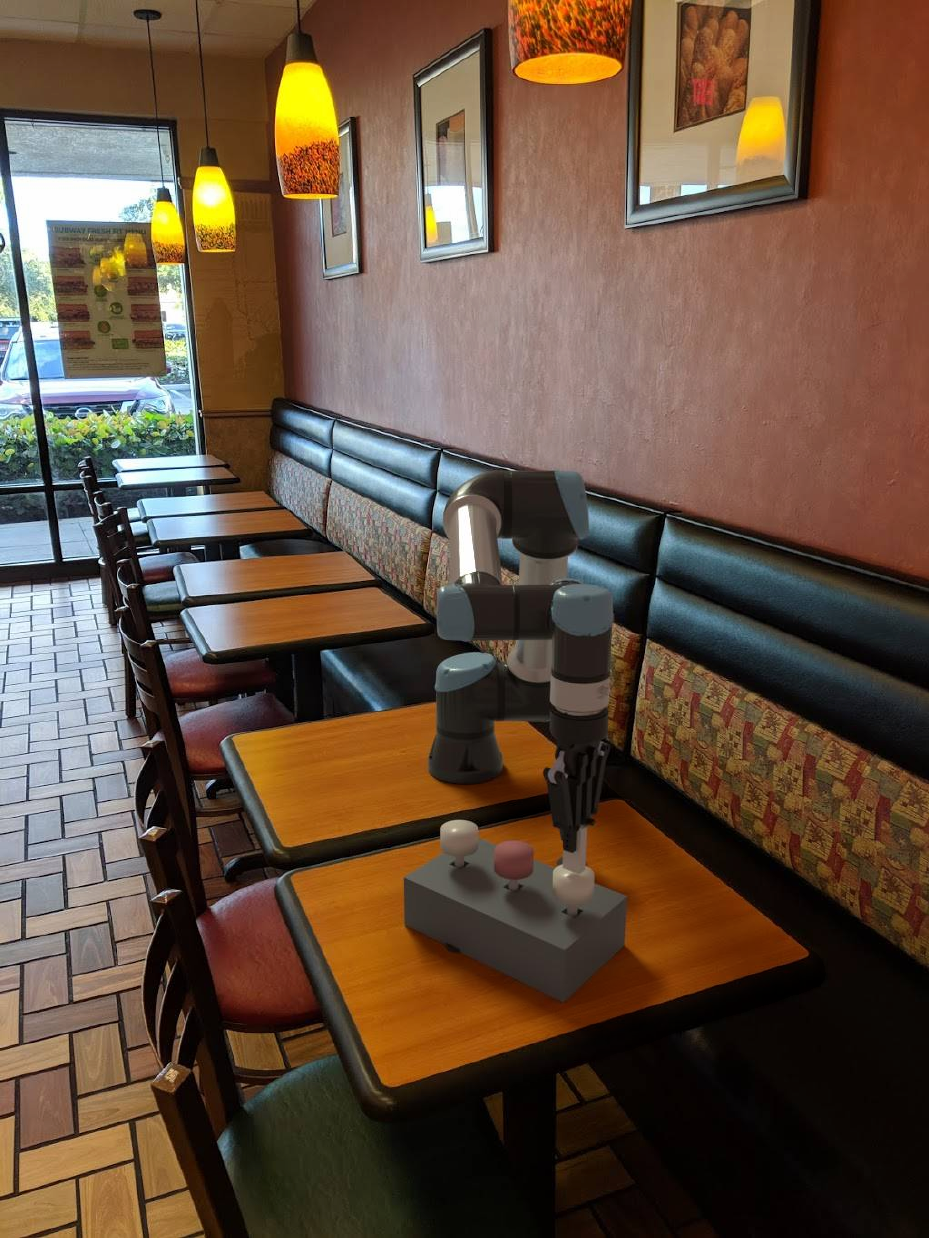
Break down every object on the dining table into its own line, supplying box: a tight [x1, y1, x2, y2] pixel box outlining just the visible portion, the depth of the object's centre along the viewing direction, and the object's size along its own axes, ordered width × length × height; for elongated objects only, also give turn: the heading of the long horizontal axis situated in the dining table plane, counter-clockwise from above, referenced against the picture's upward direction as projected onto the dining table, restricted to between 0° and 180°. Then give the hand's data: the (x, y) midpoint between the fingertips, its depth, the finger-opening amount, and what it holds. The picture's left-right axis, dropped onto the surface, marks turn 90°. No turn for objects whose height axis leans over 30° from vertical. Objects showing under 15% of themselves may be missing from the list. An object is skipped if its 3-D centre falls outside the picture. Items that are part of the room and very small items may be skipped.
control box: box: [403, 837, 628, 1003], centre depth 140 cm, size 16×28×8 cm, turn 51°
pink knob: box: [494, 840, 535, 892], centre depth 139 cm, size 6×6×8 cm
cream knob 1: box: [439, 819, 479, 869], centre depth 145 cm, size 6×6×8 cm
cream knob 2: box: [552, 864, 595, 918], centre depth 133 cm, size 6×6×8 cm
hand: (573, 868), depth 131 cm, fingers closed
